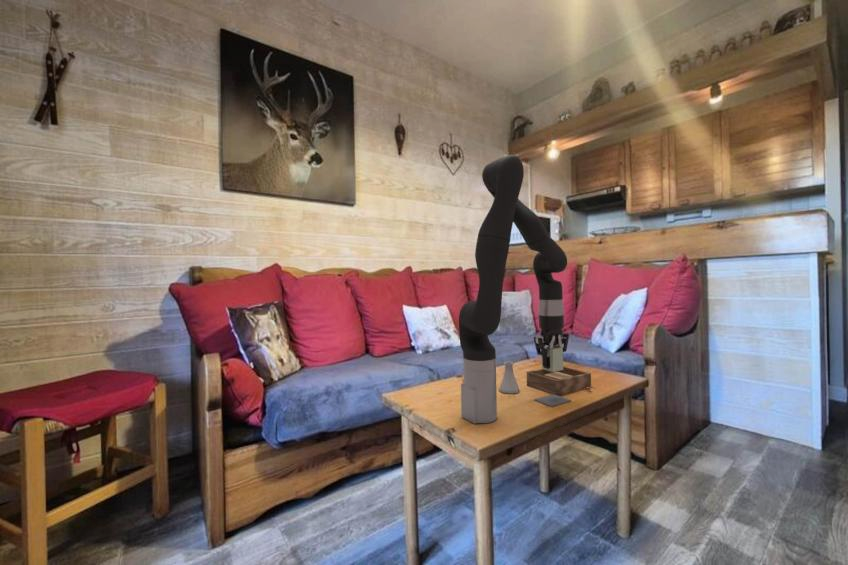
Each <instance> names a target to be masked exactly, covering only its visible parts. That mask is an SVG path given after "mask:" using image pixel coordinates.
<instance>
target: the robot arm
mask: <svg viewBox="0 0 848 565" xmlns="http://www.w3.org/2000/svg"><path fill="white" fill-rule="evenodd" d="M524 172H525V170H524V165H523V161H522V160H521V159H520V157H519V156H517V155H515V154H507V155H504V156H501V157H500V158H496V159H495V160H493V161H492V162H490V163H488V164H486V165H485V166H484V167H483V170H482V174H481V176H482V177H481V178H482V182H483V185H484V187H486V190H487V191H488V192H489V193H490V195H491V196H492V197H493V198H494V199H493V202H492V204H491V207H490V209H489V211H488V212H487V215H486V216H485V217H484V220H483V221H482V223H481V226H480V228H479V231H478V235H477V237H476V238H477V239H476V245H475V250H474V252H475V253H474V257H475V264H476V268H477V273H478V282H479V283H478V290H477V291H478V292H477V297H476V300H469V301H467V302H465V303H463V305H462V306H461V308H460V311H459V314H458V330H459V331H458V332H459V333H458V334H459V343H460V348H461V351H462V360H463V362H462V363H463V365H462V366H463V368H462V369H463V383H461V384H460V401H461V402H460V404H461V409H460V410H461V418H463V419H465V420H466V421H468V422H470V423H471V424H474V425H475V424H489V423H493V422H494V421H496V420H497V419H498V409H497V408H498V406H497V404H498V403H497V402H498V401H497V400H498V399H497V358H496V356H497V354H496V353H497V350H496V348H495V346H494V345H493V344H492V343H491V341H490V339H489V336H491V335H493V334H494V333H495V332H496V331H497V330H498V328H499V326H500V323H501V317H502V302H503V287H504V281H505V280H504V279H505V274H506V266H507V265H506V264H507V259H508V256H509V251H510V250H509V249H510V243H511V235H512V229H513V225H515V227H516V229H517V230H518V232H519V234H520V235H521V237H522V239H523V240H524V242H525V244H526V246H527V247H528V248H529V249H530V250H531V251H533V252H537V253H536V254H535V256H534V258H533V262H532V268H533V272H534V276H535V278H536V282H537V285H538V300H539V301H538V328H540V334H539V336H533V342H534V346H535V350H536V354H537V355H539V356H541V358H542V357H543V367H544V368H546V369H550V357H549V356H550V350H551V349H553V346H555V347H560V348H561V347H562V348H563V353H565V352H567V350H568V343H569V337H570V334H569V333H567V332H563V329H564V328H565V314H564V313H565V312H564V308H565V307H564V300H563V284H562V282H561V281H559V280H556V279H554V276H553V274H558V273H562V272H563V271H565V270H566V268H567V266H568V258H567V255H566V253H565V251H564V249H562V248H561V247H560V245H558V243H557V242H556V241H555V239H553V238H552V237H551V236H550V235H549V232H548V231H547V229H546V228H545V227H546V226H545V225H544V224H543V222H542V220H541V219H540V218H539V216H538V215H537V214H536V213H535V212H534V211H533V210H531V209H530V208H529V207H528V206H527V205H525V204H524V203H523V202H522V201H521V200H520V199H519V196H520V193H521V188H522V185H523V181H524V174H525V173H524ZM547 346H548V347H547ZM545 349H547V353H546V352H545Z"/></svg>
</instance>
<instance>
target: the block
mask: <svg viewBox="0 0 848 565" xmlns="http://www.w3.org/2000/svg"><path fill="white" fill-rule="evenodd" d="M546 346H547V345H546ZM547 347H548V346H547ZM545 352H546V353H547V349H545ZM549 357H550V369H546V368H544V367H543V357H542V356H541V369H544V370H548V371H552V372H556V371H560V370H563V366H564V352H563V347H561V348H560V347H555V346H553V349H551V350H550V356H549Z"/></svg>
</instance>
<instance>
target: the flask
mask: <svg viewBox="0 0 848 565" xmlns="http://www.w3.org/2000/svg"><path fill="white" fill-rule="evenodd" d="M503 364H504V371H503V372H504V373H503V376H502V380H501V383H500V385H499V389H498V391H500V393H502V394H519V393H520V391H521V390H520V387H519V385H518V382H517V379H516V377H515V373H514V367H513V365H514V362H513V361H504V362H503Z"/></svg>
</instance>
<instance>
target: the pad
mask: <svg viewBox="0 0 848 565" xmlns="http://www.w3.org/2000/svg"><path fill="white" fill-rule="evenodd" d="M534 401H535V402H538V403H540V404H543V405H545V406H548V407H551V408H553V407H557V406H559V405H560V406H561V405H564V404H568V403H571V402H572V399H569V398H566V397H563V396H562V395H561V396H558V395H555V394H550V395H543V396H542V397H538V398H534ZM570 401H571V402H570ZM567 402H568V403H567Z"/></svg>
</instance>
